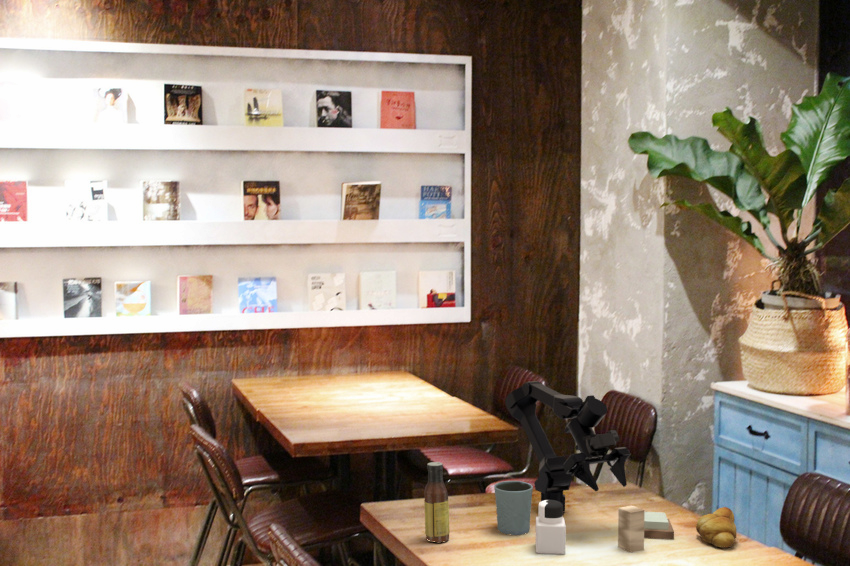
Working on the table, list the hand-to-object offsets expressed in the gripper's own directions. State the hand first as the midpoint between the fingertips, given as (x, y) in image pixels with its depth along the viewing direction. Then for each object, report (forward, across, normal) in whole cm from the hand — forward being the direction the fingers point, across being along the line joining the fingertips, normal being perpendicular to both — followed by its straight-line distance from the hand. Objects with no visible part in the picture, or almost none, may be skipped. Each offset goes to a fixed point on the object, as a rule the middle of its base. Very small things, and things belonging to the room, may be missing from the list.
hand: (611, 488), depth 226 cm
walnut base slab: (+10, +13, +9) cm, 19 cm away
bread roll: (+20, +23, 0) cm, 30 cm away
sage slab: (+8, +13, +8) cm, 17 cm away
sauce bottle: (-5, -40, +24) cm, 47 cm away
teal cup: (-3, -19, +22) cm, 29 cm away
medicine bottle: (+9, -18, +10) cm, 23 cm away
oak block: (+15, 0, +4) cm, 15 cm away
